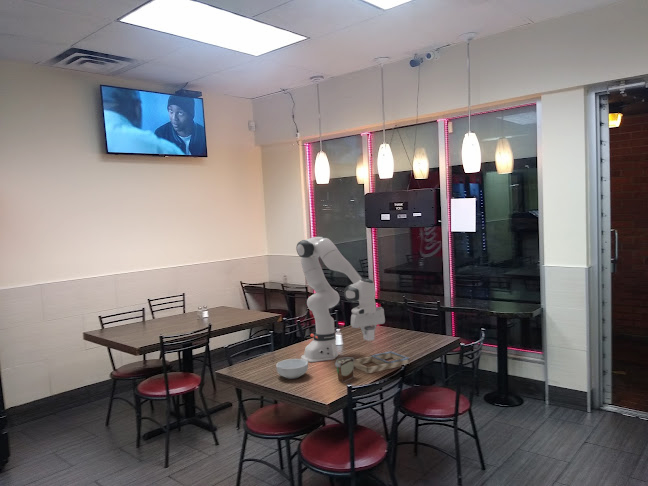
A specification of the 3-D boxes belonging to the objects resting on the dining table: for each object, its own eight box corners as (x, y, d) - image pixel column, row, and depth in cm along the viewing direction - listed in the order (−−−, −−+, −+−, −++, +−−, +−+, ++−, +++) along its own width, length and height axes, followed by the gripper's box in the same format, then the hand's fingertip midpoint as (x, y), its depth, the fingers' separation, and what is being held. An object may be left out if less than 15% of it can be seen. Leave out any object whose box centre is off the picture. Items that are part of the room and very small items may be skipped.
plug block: (368, 341, 260) (367, 328, 260) (363, 339, 265) (362, 326, 264) (374, 339, 262) (374, 327, 262) (369, 337, 267) (369, 325, 266)
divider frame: (367, 373, 253) (367, 367, 253) (351, 365, 269) (351, 359, 268) (409, 364, 265) (409, 358, 265) (391, 357, 281) (391, 351, 281)
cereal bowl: (270, 377, 255) (269, 364, 255) (294, 369, 267) (293, 356, 267) (291, 384, 243) (290, 370, 243) (315, 375, 255) (314, 362, 255)
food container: (345, 374, 254) (344, 355, 253) (355, 376, 250) (354, 357, 250) (331, 381, 244) (330, 361, 244) (340, 383, 241) (339, 363, 240)
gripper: (380, 305, 270) (381, 329, 271) (348, 310, 261) (349, 335, 261) (386, 307, 264) (387, 332, 265) (354, 311, 255) (355, 337, 256)
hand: (368, 333), depth 263 cm, fingers closed on plug block, 4 cm apart
